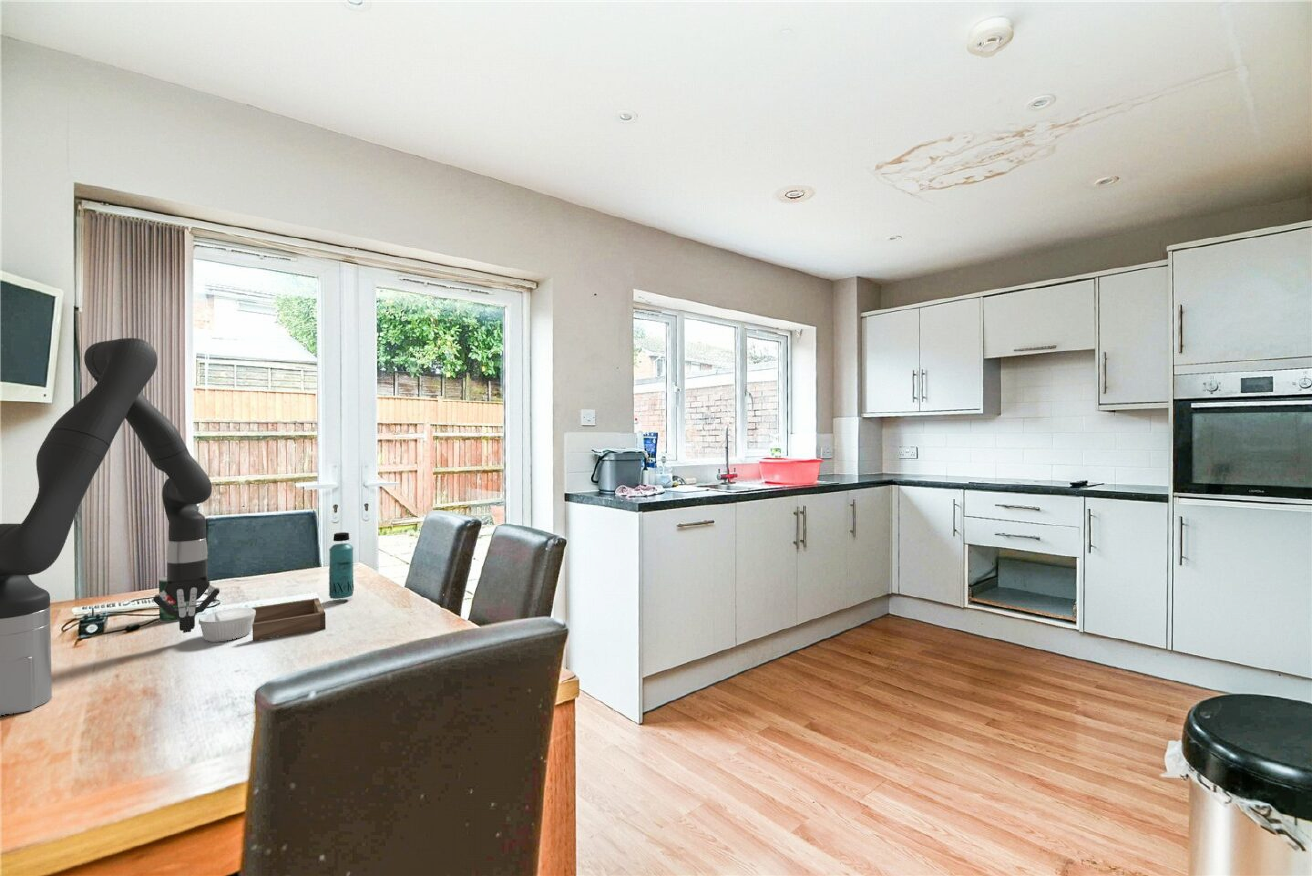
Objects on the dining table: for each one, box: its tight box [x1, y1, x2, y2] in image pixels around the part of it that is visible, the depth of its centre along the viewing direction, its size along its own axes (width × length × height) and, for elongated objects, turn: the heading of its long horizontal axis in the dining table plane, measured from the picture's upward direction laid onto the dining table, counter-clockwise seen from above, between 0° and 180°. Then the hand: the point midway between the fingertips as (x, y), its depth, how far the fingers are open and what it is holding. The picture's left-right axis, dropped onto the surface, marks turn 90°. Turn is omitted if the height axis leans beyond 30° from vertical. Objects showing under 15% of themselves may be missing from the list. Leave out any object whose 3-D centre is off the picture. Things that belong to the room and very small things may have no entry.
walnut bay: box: [251, 597, 327, 642], centre depth 153 cm, size 16×15×4 cm
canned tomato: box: [158, 575, 198, 623], centre depth 160 cm, size 8×8×11 cm
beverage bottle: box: [328, 532, 355, 600], centre depth 175 cm, size 6×7×20 cm
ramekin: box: [198, 607, 256, 643], centre depth 145 cm, size 11×11×5 cm
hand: (187, 631), depth 141 cm, fingers closed
